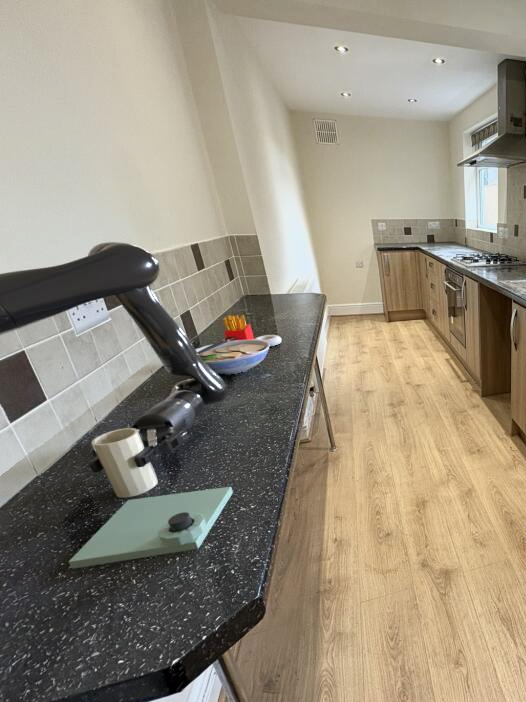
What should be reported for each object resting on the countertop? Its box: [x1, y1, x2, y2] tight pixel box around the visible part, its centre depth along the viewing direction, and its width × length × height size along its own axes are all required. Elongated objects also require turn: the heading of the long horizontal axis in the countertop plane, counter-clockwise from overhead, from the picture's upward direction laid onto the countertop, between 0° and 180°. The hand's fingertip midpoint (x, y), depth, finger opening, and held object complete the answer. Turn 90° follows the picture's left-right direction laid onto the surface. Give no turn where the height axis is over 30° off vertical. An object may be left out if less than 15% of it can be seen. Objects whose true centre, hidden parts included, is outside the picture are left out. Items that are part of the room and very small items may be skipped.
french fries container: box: [221, 314, 255, 341], centre depth 145 cm, size 7×9×14 cm
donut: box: [254, 334, 283, 346], centre depth 157 cm, size 10×4×10 cm
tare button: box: [168, 512, 193, 533], centre depth 63 cm, size 3×3×2 cm
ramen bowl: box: [195, 336, 270, 376], centre depth 131 cm, size 25×23×8 cm
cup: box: [91, 427, 159, 499], centre depth 74 cm, size 6×6×11 cm
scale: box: [68, 486, 234, 570], centre depth 66 cm, size 16×14×3 cm
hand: (116, 465), depth 72 cm, fingers closed on cup, 6 cm apart
